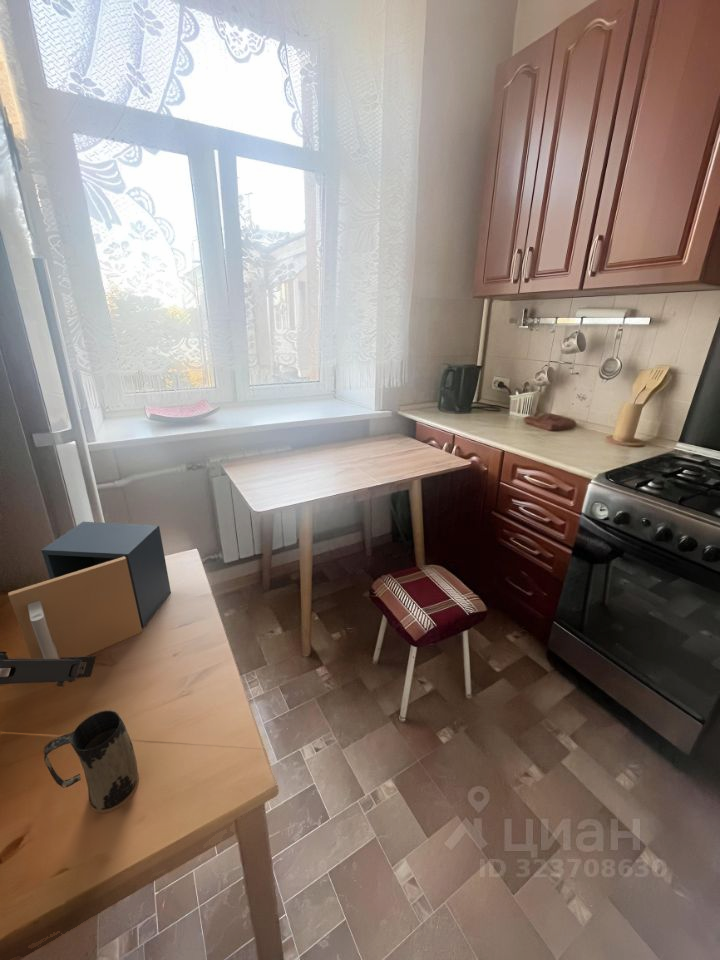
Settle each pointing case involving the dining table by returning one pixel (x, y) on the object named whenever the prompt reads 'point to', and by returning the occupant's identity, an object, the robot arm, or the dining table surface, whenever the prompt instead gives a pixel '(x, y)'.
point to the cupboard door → (78, 611)
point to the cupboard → (113, 542)
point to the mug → (101, 760)
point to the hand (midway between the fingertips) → (45, 664)
